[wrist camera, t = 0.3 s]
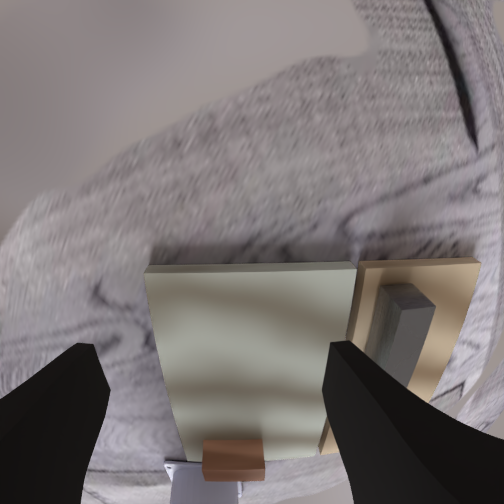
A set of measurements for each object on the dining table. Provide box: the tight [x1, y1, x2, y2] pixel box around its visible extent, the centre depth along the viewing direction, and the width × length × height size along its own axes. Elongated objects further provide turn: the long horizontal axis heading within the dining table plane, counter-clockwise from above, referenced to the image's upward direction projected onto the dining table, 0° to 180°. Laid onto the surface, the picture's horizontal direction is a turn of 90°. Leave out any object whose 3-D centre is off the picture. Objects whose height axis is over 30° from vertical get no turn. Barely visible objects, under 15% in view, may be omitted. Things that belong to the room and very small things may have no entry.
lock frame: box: [144, 257, 481, 482], centre depth 20 cm, size 20×23×4 cm
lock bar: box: [365, 283, 436, 388], centre depth 18 cm, size 15×3×3 cm, turn 0°
